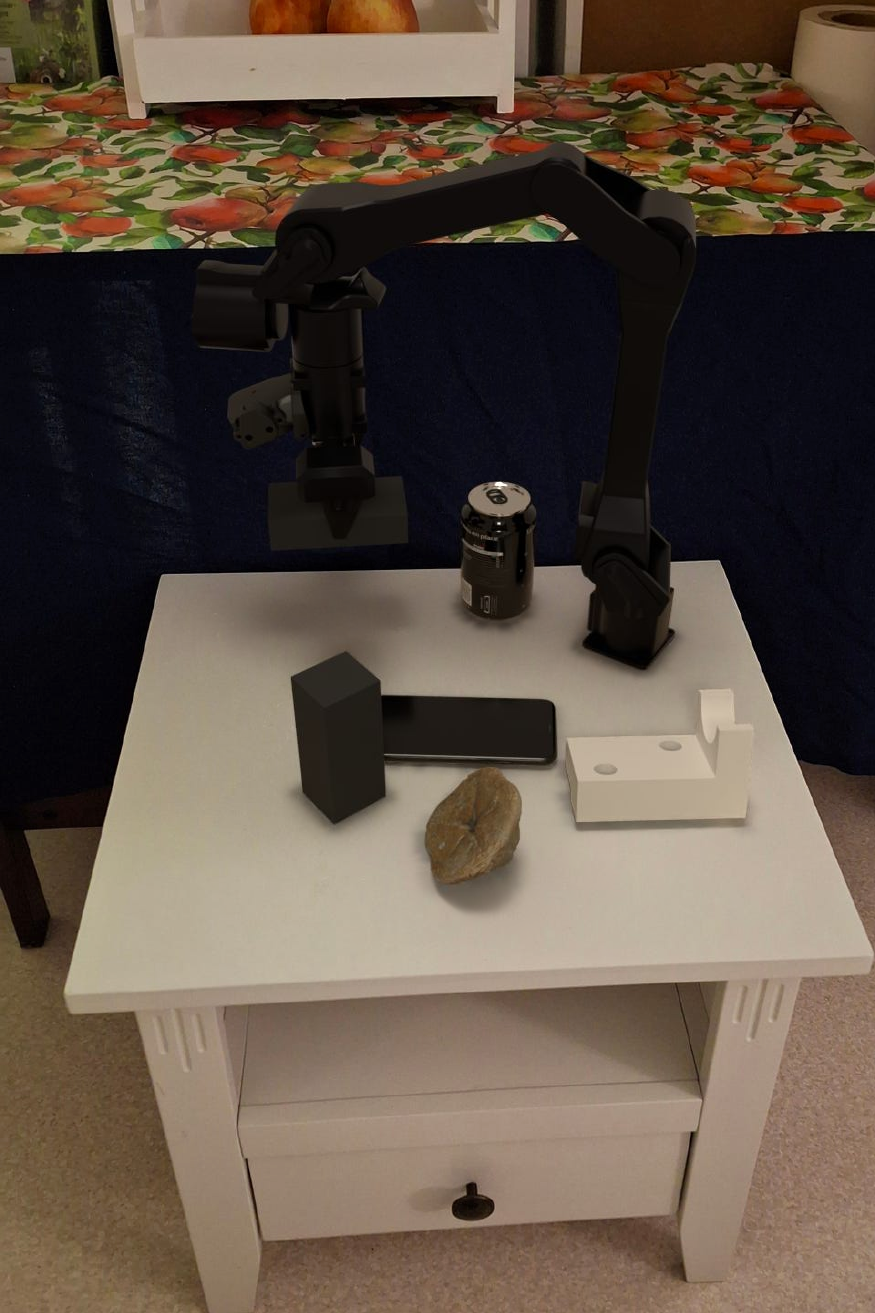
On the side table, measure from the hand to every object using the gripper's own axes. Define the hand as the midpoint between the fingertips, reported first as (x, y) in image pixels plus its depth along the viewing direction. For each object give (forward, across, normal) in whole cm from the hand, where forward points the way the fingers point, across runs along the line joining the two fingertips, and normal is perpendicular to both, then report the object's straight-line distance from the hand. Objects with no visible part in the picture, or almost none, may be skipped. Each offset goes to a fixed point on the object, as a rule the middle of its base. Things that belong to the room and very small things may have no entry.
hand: (338, 517), depth 108 cm
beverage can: (+11, 0, +14) cm, 18 cm away
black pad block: (+11, +24, -1) cm, 26 cm away
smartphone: (+11, +18, +9) cm, 23 cm away
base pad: (+1, 0, 0) cm, 1 cm away
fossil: (+11, +31, +8) cm, 34 cm away
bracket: (+11, +25, +23) cm, 36 cm away
